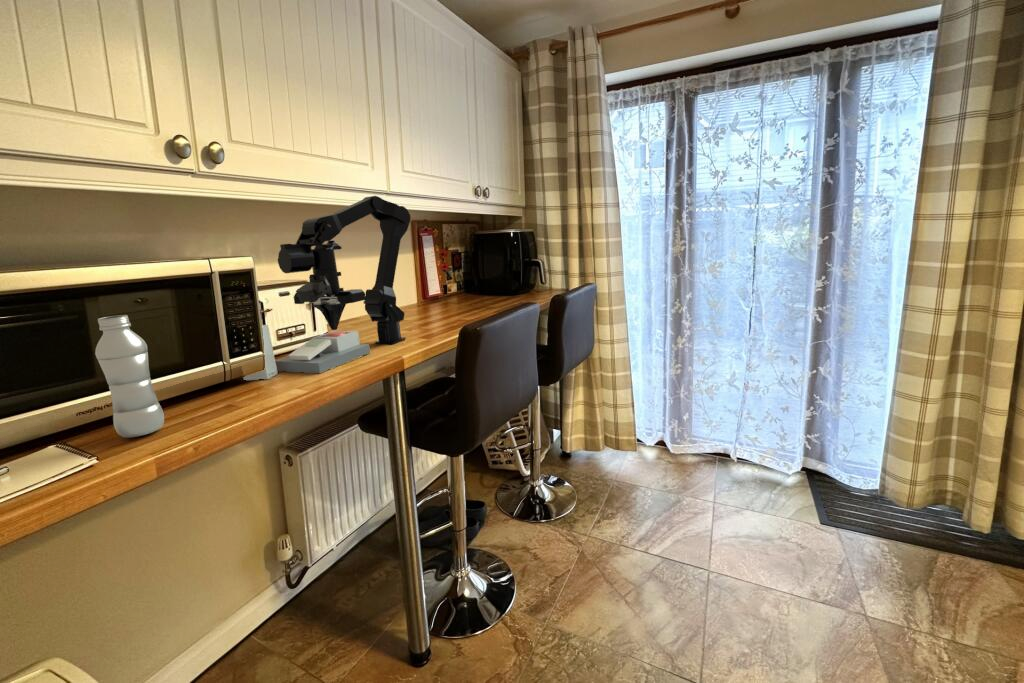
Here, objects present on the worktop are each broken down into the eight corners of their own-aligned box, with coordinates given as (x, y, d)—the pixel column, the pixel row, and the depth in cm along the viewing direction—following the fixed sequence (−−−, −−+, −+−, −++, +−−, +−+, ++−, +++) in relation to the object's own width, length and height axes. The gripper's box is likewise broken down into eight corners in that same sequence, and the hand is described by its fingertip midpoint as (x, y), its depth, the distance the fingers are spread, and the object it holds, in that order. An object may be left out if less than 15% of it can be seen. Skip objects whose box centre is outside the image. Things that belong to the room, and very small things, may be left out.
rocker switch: (313, 343, 120) (311, 338, 119) (331, 343, 118) (329, 339, 117) (290, 359, 113) (288, 354, 113) (309, 360, 111) (307, 355, 110)
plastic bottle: (115, 436, 79) (83, 319, 75) (164, 423, 84) (136, 312, 80) (120, 446, 75) (85, 322, 70) (171, 431, 79) (141, 314, 75)
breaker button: (336, 344, 127) (334, 331, 126) (351, 344, 125) (349, 331, 124) (323, 348, 122) (320, 335, 122) (338, 349, 120) (336, 336, 120)
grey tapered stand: (278, 374, 111) (269, 324, 108) (267, 379, 107) (257, 328, 104) (254, 375, 112) (244, 325, 109) (242, 381, 108) (232, 329, 105)
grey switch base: (329, 352, 130) (325, 330, 129) (370, 353, 125) (367, 331, 124) (275, 371, 114) (271, 346, 113) (320, 373, 109) (315, 348, 108)
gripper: (271, 273, 115) (282, 336, 119) (330, 271, 108) (340, 337, 112) (306, 269, 125) (315, 327, 129) (362, 266, 118) (371, 327, 122)
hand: (334, 329), depth 122 cm, fingers closed
